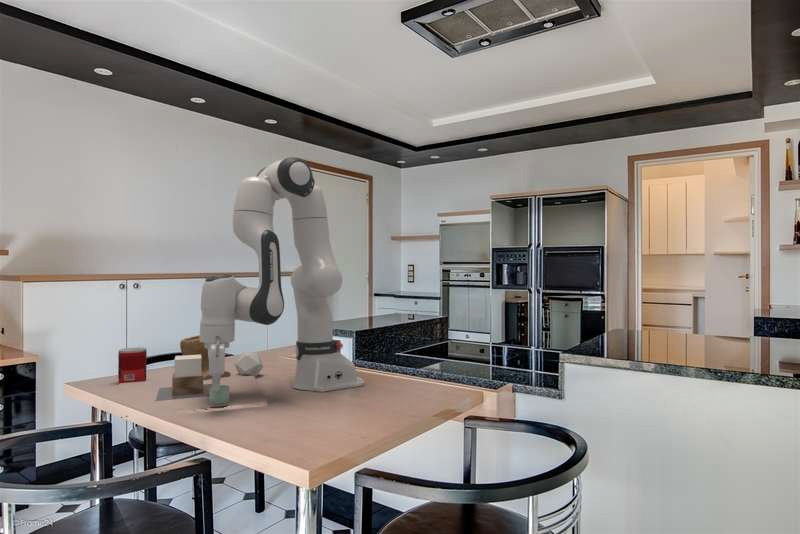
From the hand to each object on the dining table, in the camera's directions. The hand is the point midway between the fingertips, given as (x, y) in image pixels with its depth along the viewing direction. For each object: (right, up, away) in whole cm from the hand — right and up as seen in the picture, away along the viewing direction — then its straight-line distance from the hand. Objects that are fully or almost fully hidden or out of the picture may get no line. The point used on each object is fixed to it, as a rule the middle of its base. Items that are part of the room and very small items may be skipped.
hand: (215, 386), depth 129 cm
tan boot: (-17, -6, +32) cm, 36 cm away
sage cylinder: (+1, -5, 0) cm, 5 cm away
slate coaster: (-12, -5, +11) cm, 17 cm away
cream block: (-12, +1, +11) cm, 16 cm away
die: (-2, -6, +37) cm, 37 cm away
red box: (-38, -6, +27) cm, 47 cm away
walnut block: (-12, -4, +11) cm, 17 cm away
